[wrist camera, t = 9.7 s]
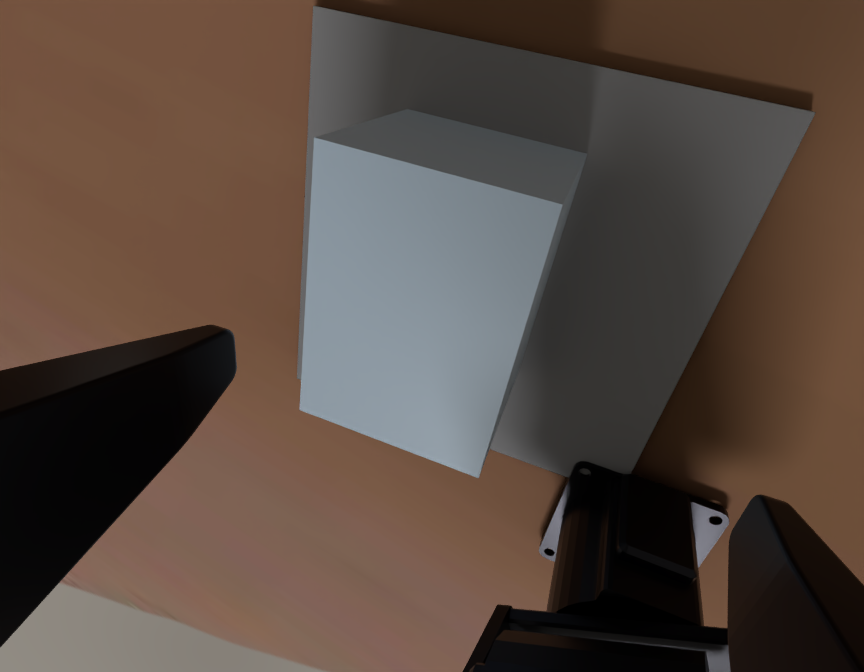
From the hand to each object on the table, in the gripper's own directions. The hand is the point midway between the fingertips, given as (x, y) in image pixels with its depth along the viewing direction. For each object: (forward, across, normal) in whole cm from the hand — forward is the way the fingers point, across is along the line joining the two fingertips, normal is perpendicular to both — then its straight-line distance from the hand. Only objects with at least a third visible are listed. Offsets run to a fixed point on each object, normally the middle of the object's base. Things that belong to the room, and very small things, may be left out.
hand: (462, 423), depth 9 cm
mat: (+12, +2, +3) cm, 13 cm away
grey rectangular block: (+12, +3, +2) cm, 13 cm away
